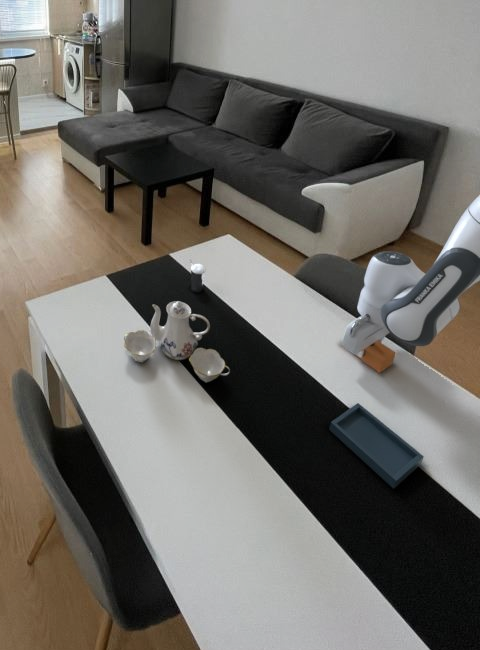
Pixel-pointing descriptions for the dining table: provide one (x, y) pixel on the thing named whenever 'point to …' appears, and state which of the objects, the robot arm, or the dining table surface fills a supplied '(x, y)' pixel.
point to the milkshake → (197, 276)
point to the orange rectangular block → (378, 356)
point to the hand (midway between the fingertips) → (367, 349)
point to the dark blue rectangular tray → (376, 445)
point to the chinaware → (176, 342)
